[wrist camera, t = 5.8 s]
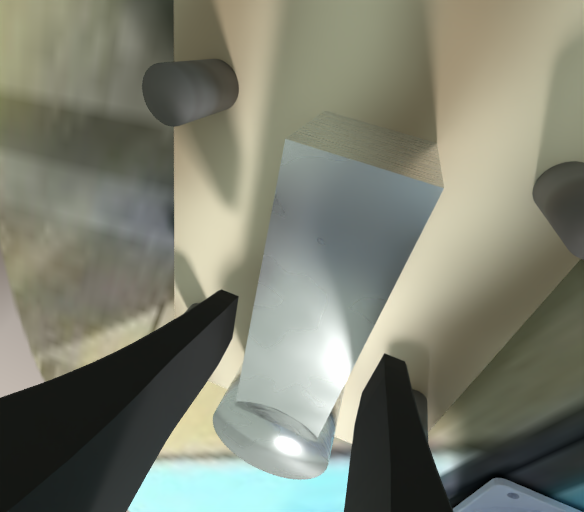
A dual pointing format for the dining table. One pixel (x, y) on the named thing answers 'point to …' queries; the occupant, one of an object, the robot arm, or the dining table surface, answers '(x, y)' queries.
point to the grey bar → (324, 284)
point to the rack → (402, 118)
